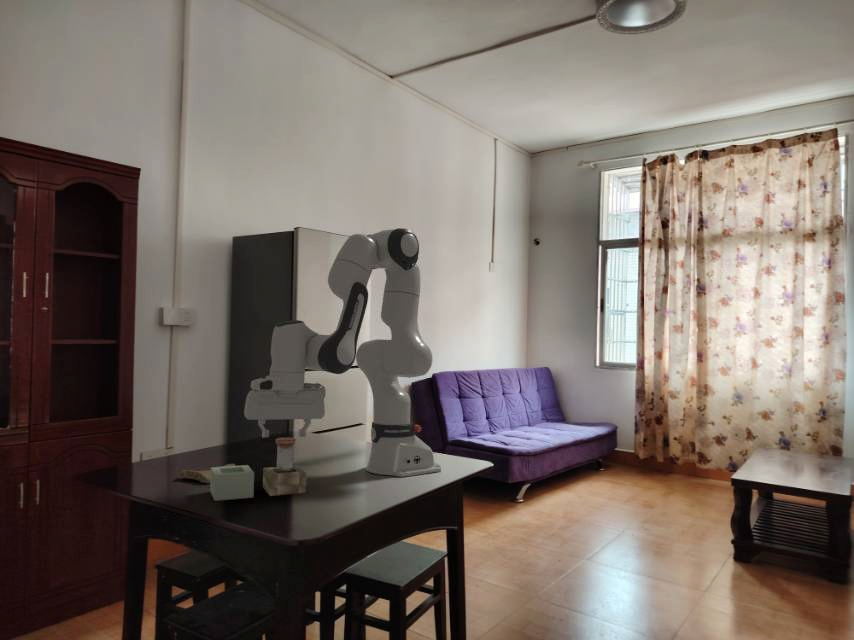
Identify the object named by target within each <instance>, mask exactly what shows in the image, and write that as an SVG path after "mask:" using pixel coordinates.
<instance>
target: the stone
mask: <svg viewBox="0 0 854 640" xmlns="http://www.w3.org/2000/svg"><path fill="white" fill-rule="evenodd" d="M227 466H236V464H235V463H228V464H225V465H222V466H221V467H227ZM186 479H187V480H189V479H190V480H195V481H199V482H200V483H203V484H210V481H211V469H209V470H208V469H207V470H201V471H200V470H199V471H197V470H190V469H189V470H188V469H184V470H182V471H181V472H180V473H179V480H186Z"/></svg>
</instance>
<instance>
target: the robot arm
mask: <svg viewBox="0 0 854 640" xmlns="http://www.w3.org/2000/svg"><path fill="white" fill-rule="evenodd" d="M419 243H420V242H419V240H418V238H417V235H416V234H415V233H414V231H413V230H411V229H407V228H402V227H401V228H399V227H398V228H395V229H393V228H392V229H386V230H380V231H379V232H374V233H373V234H367V235H366V234H362V233H353V234H351V235H350V236H348V238H347V239H346V241H344V243H343V245H342V246H341V248H340V250H339V251H338V253H337V255H336V256H335V259H334V260H333V263H332V265H331V267H330V270H329V273H328V276H327V283H328V286H329V289H330V290H331V292H332V293H333V294H334V295H335V296H336V297H337V298H339V299H341V301H342V302H343V305H342V310H341V313H340V315H339V316H340V317H339V319H338V323H337V326H336V329H335V330H334V331H333V332H332V333H330V334H320V333H319V332H316V331H314V330H312V329H311V328H309V326H307V324H306V323H305V321H303V320H298V319H295V320H284V321H280V322H277V324H275V326H274V328H273V331H272V336H271V337H272V338H271V344H270V345H271V346H270V356H271V357H270V358H271V366H270V369H269V375H266V376H262V377H260V378H257V379H253V380H252V381H251V382H250V388H251V389H250V390H249V392H248V393H247V395H246V399H245V403H244V410H243V411H244V412H243V414H244V417H245V418H246V420H249V421H250V420H252V421H253V420H255V421H257V423H258V426H259V428H260V429H261V431H262V432H261V437H262V438H263V439H264V438H269V437H270V430H269V429H266V428H265V426H264V425H266V420H303V423H304V425H303V427H302V428H299V429H298V437H301V438H302V437H304V438H305V437H306V436H307V430H308V429H309V428H310V425H311V424H312V420H322V419H323V418H324V417H325V414H326V413H325V411H326V410H325V408H326V406H325V398H326V391H327V390H326V387H325V386H324V385H323V384H321V383H318V382H316V383H311V382H305V374H306V370H305V369H307V370H312V371H317V372H318V371H319V372H327V373H330V374H334V375H342V374H345V373H346V372H348V371H349V370H350V369H351V368H352V366H353V365H354V363H355V361H356V365H357V366H358V368H359V370H360V371H361V372H363V374H364V376H365V377H366V378H367V381H368V384H369V386H370V389H371V393H372V403H373V404H372V405H373V406H372V407H373V408H372V409H373V412H372V413H373V415H372V417H373V418H372V419H373V421H372V422H371V428H370V438H371V439H370V440H371V446H370V454H369V458H368V462H367V466H366V468H365V469H366V471H367V472H368V473H373V474H376V475H385V476H395V477H410V476H418V475H424V474H430V473H431V474H432V473H437V472H442V466H441V465H440V464H438V463H436V462H435V459H434V458H435V457H434V452H433V450H432V448H431V447H430V446H429V445H428V444H426V443H425V442H424V441H423V440H422V439H420V438H419V437H418V436H417V435H416V433H420V432H421V431H422V427H421V426H420V425H419V424H413V423H412V422H411V402H412V401H411V397H410V394H409V393H407V392H406V390H404V389H403V388H402V387H401V385H400V383H399V379H398V377H399V378H409V379H410V378H411V379H412V378H417V377H418V378H419V377H423V376H425V375H427V373H428V372H429V371H430V370H431V367H432V365H433V353H432V351H431V349H430V346H428V345H427V343H425V341H424V339H422V336H421V333H420V331H419V325H418V317H419V314H418V313H419V305H420V296H421V271H420V267H419V265H418V264H417V262H418V259H419V254H420V244H419ZM377 269H384V271H385V275H386V279H385V284H384V290H383V294H382V295H383V297H382V304H381V311H380V319H381V321H382V322H383V323H384V324H385V325H386V326H388V327H389V330H390V335H391V339H380V338H379V339H378V338H377V339H372V340H368V341H364V342H363V343H361V344H360V345H359V346H358V349H357V345H358V339H359V335H360V331H361V328H362V324H363V321H364V317H365V313H366V310H367V307H368V306H367V305H368V302H369V291H368V288H367V287H368V284H369V280H370V278H371V275H372V272H373V270H377Z"/></svg>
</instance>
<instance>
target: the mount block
mask: <svg viewBox="0 0 854 640" xmlns="http://www.w3.org/2000/svg"><path fill="white" fill-rule="evenodd" d="M262 470H263V472H262V488H263V489H264V491H265V492H266V493H267V494H268V495H269V496H270V497H272V496H282V495H294V494H295V495H296V494H305V493H306V491H307V472H306V471H305V470H304V469H302V468H301V467H300V466H299V465H293V472H288V473H277V466H273V467H272V466H271V467H263V469H262Z"/></svg>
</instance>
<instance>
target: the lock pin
mask: <svg viewBox="0 0 854 640" xmlns="http://www.w3.org/2000/svg"><path fill="white" fill-rule="evenodd" d="M275 444H276V445H277V447H276V448H277V449H276V453H277V454H276V467H277V473H288V472H293V466H294V445H296V438H295V437H278V438H275Z"/></svg>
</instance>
